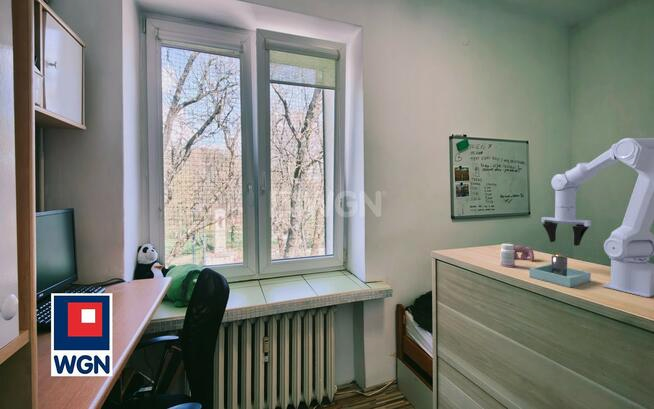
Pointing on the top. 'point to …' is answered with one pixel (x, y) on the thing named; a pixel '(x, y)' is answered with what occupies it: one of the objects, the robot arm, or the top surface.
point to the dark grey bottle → (559, 265)
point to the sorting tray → (560, 276)
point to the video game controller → (524, 252)
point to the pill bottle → (507, 255)
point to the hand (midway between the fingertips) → (564, 243)
